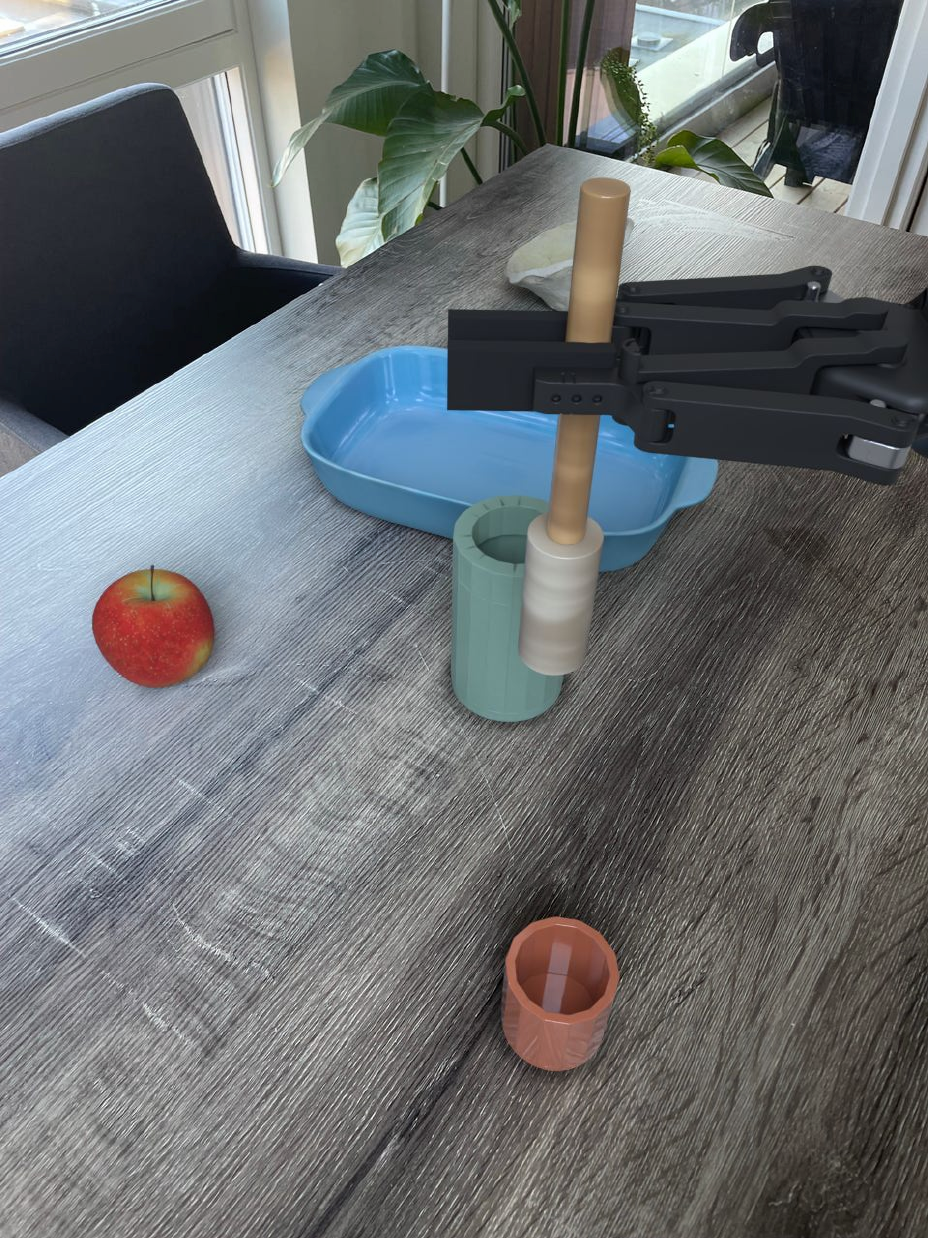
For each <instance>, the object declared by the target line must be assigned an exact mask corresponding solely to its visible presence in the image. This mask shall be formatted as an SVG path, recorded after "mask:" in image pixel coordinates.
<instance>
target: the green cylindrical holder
mask: <svg viewBox="0 0 928 1238" xmlns="http://www.w3.org/2000/svg"><path fill="white" fill-rule="evenodd" d="M548 511H549V502H547V501H545V500H542V499H540V498H534V497H528V496H522V495H507V496H496V497H493V498H489V499H486V500H482V501H480V502H478V503H476V504H474V505H473V506H471V507H469V508H468V509H466V510H465V511H464V512H463V513H462V515H461V516H460V517H459V519H458V520H457V521H456V523H455V526H454V534H453V539H452V572H451V573H452V574H451V575H452V576H451V579H452V580H451V581H452V582H451V632H450V633H451V634H450V635H451V637H450V639H451V640H450V641H451V643H450V675H451V676H450V677H451V679H450V681H451V687H452V690H453V692H454V695H455V696H456V698H457V699H458V701H459V702H460V703H461V704H462V705H463V706H464V707H465V708H466V709H467V710H469V711H471V712H472V713H473V714H475V715H477V716H480V717H481V718H483V719H484V718H485V719H487V720H492V721H495V722H503V723H515V722H522V721H527V720H530V719H533V718H537V717H538V716H540V715H542V714H544V713H545V712H547V711H548V710H549V709H550V708H552V706H553V705H554V704H555V703H556V701H557V700H558V698H559V696H560V694H561V692H562V691H561V690H562V685H563V682H564V676H565V675H559V676H550V675H544V674H541V673H538V672H535V671H533V670H532V669H530V668H529V667H527V666H526V665H525V664H524V663H523V661H522V660H521V658H520V656H519V653H518V639H519V627H520V615H521V602H522V590H523V577H524V565H525V552H526V540H527V530H528V527H529V525H530V523H531V522H532V521H533V520H534V519H535V518H536V517H537V516H539V515H541V514H543V513H546V512H548Z"/></svg>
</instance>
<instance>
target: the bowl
mask: <svg viewBox="0 0 928 1238" xmlns="http://www.w3.org/2000/svg"><path fill="white" fill-rule="evenodd" d="M576 226H577V218H575V219H574V220H573V221H571V222H566V223H563V224H561V225H559V226H556V227H553V228H550V229H549V230H544V231H542V232H541V233H539V234H537V235H536V236H535V237H534V238H532V239H530V240H529V241H527V242H526V243H525V244H523V245H522V246H520V247H518V248H516V249H515V251H514V252H513V253H512V255H511V257H510V258H509V259H508V262H507V264H506V266H505V268H504V270H503V275H504V276H505V278H507V279H508V280H509V283H510V284H511V285H515V286H519V287H521V288H525V289H528V290H529V291H531V292H532V293H534V294H535V295H536V296H538V297H539V298H541V299H542V300H543V301H544V302H545V303H546V305H547V306H548V307H549V308H551V309H553V310H554V311H568V307H569V297H570V287H571V277H572V266H573V256H574V246H575V236H576ZM634 228H635V221H634V219H632V218H631V217H628V216H627V223H626V231H625V238H624V246H625V245H626V244H627V242H628V241H629V239H630V238H631V235H632V232H633V230H634Z"/></svg>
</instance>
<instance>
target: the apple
mask: <svg viewBox="0 0 928 1238" xmlns="http://www.w3.org/2000/svg"><path fill="white" fill-rule="evenodd" d="M91 630H92V635H93V638H94V641H95V644H96V646H97V648H98V651H100V653H101V655H102V657H103V659H105V661H106V662H107V663H108V664H109V665H110V666H111V668H112V669H113V670H114V671H115V672H116V673H118V674H119V675H120V676H121V677H122V678H124V679H125V680H127V681H129V682H131V683H133V684H136V685H138V686H141V687H145V688H150V689H151V688H152V689H158V688H167V687H172V686H175V685H178V684H180V683H183V682H185V681H187V680H190V678H192V677H194V676H195V675H197V674H198V673H199V672H201V670H202V669H203V668H204V667H205V665H206V664H207V663H208V661H209V659H210V657H211V655H212V653H213V650H214V645H215V638H216V637H215V635H216V634H215V632H216V631H215V630H216V629H215V621H214V617H213V613H212V611H211V607H210V605H209V602H208V600H207V599H206V597H205V596H204V594H203V592H202V590H200V589H199V587H198V586H197V585H196V584H195V583H194V582H193V581H191V580H190V579H189V578H187V577H185V576H184V575H182V574H180V573H178V572H175V571H172V570H167V569H159V568H155V565H154V564H152V565H150V568H146V569H139V570H135V571H132V572H129V573H126V574H124V575H122V576H121V577H119V578H117V579H116V580H115V581H114V582H113V583H111V584H110V585H108V587H107V588H106V589H105V590H104V591H103V592H102V593H101V595H100V596H99V598H98V599H97V601H96V603H95V605H94V608H93V611H92V615H91Z"/></svg>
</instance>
